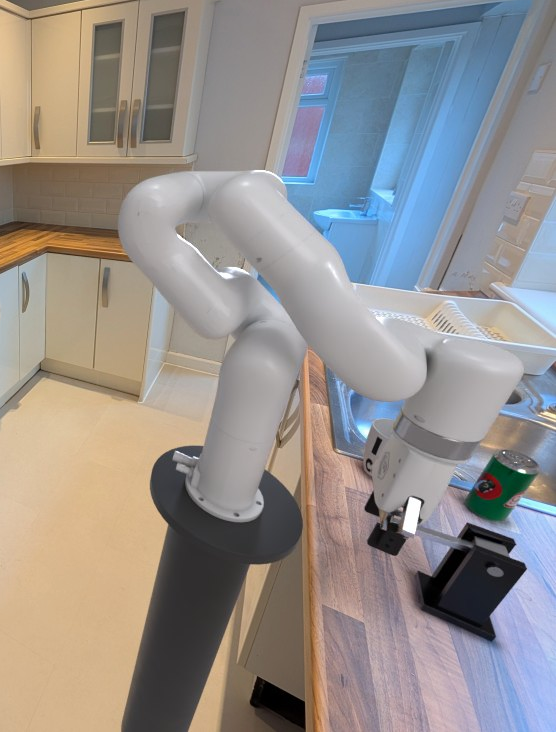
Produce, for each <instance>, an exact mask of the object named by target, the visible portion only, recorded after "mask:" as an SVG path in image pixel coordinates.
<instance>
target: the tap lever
mask: <svg viewBox="0 0 556 732" xmlns="http://www.w3.org/2000/svg"><path fill="white" fill-rule="evenodd" d="M384 513H385V511H384V510H383V511H382V510H380V509H379V516H380V517H379V523H381V521H382V518H383V515H384ZM400 521H401V518H397V517H395V516H394V517H393V515H392V518H391V520H390V522H394V523H397V524H398V523H400ZM415 536H416V537H419V538H422V539H425V540H427V541H430V542H434V543H437V544H441V545H444V546H446V547H449V548H450V547H452V548H455V549H458V550H461V551H464V552H467V553H469V551H470V550H471V548H472V547H473V546H474V544H475V545H478V546H480V547H483V548H486V549H488V550H491V551H494V552H496V553H499V554H502V555H504V556H507V557H510V553H509V554H508V551H507V549H506V546H504V545H501V544H498V543H495V542H491V541H488V540H485V539H482V538H479V537H476V536H474V538H473V540H472V542H469V541H466V540H462V539H459V538H457V536H453V535H450V534H447V533H445V532H441V531H437V530H434V529H431V528H429V527H425V526H422V525H420V524H417V527H416V532H415ZM510 558H511V557H510Z"/></svg>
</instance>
